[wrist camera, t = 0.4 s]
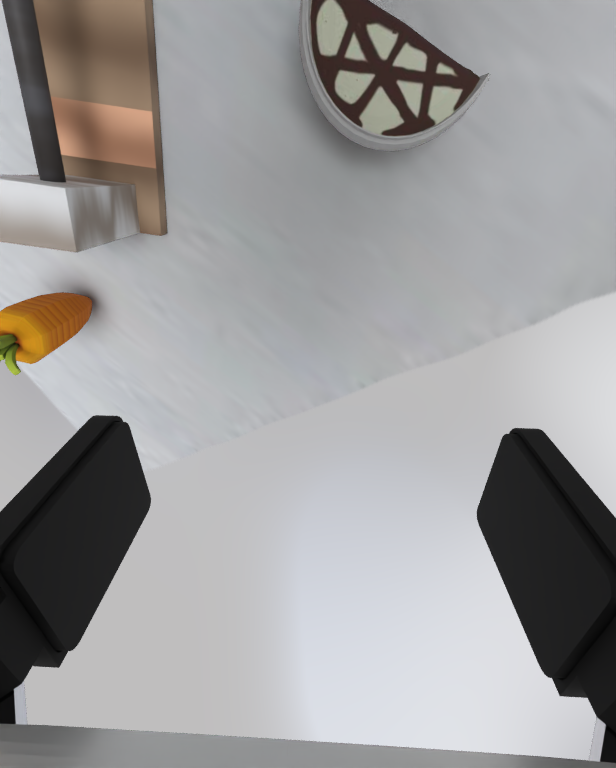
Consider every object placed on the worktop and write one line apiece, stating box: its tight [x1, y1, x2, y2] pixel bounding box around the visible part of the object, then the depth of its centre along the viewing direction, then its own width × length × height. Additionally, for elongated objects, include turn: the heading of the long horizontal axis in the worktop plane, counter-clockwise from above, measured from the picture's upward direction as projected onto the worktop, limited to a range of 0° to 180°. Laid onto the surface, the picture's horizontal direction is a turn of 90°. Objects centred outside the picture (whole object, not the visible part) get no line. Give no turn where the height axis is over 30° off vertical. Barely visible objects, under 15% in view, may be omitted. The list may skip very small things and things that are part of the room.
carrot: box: [0, 293, 92, 375], centre depth 33 cm, size 5×5×15 cm
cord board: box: [0, 0, 167, 252], centre depth 23 cm, size 28×10×12 cm, turn 173°
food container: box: [299, 0, 490, 151], centre depth 26 cm, size 12×6×10 cm, turn 64°
